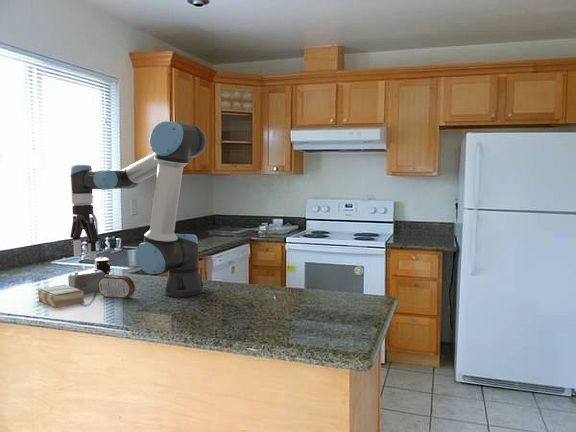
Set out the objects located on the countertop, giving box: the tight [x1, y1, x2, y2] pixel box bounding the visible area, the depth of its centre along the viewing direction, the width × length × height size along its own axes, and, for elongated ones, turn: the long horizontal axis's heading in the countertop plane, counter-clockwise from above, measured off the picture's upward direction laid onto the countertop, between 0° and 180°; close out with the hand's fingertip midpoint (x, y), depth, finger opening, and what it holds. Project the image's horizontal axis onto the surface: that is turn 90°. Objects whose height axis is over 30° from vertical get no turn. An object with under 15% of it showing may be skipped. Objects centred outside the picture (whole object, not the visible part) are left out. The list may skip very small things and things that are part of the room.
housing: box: [67, 268, 105, 295], centre depth 192 cm, size 6×12×9 cm, turn 136°
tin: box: [98, 274, 136, 299], centre depth 182 cm, size 15×3×8 cm, turn 72°
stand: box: [37, 284, 85, 309], centre depth 178 cm, size 16×10×4 cm, turn 47°
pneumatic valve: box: [94, 256, 111, 276], centre depth 206 cm, size 6×12×12 cm, turn 27°
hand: (85, 257), depth 191 cm, fingers open, 13 cm apart
